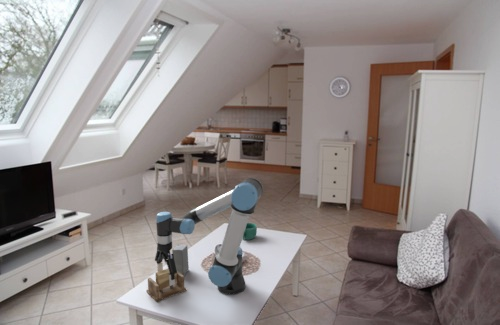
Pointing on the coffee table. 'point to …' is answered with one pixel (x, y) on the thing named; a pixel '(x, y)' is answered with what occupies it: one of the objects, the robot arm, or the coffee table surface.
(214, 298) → the coffee table surface
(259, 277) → the coffee table surface
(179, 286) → the peg frame
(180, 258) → the skincare box
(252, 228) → the mug
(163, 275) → the light wooden block
